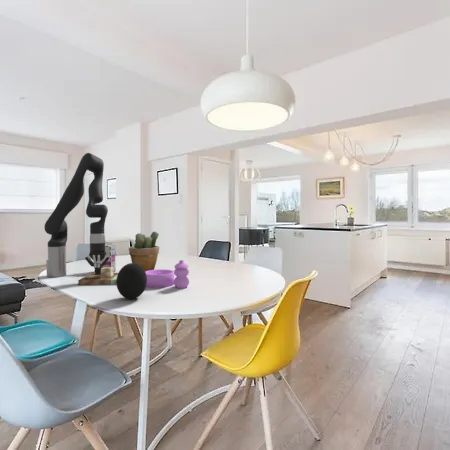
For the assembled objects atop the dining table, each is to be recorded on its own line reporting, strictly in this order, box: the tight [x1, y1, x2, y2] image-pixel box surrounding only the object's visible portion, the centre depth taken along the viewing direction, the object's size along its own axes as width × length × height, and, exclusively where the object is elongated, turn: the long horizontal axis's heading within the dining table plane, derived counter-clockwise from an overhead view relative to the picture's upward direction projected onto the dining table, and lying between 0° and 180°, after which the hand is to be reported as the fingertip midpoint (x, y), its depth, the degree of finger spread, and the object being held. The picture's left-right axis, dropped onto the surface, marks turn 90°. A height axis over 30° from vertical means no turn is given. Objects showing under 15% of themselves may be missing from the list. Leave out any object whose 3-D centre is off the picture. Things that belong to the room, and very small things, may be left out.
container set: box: [145, 259, 190, 289], centre depth 152 cm, size 25×15×13 cm, turn 65°
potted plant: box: [128, 231, 160, 271], centre depth 187 cm, size 18×19×25 cm
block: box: [101, 267, 115, 277], centre depth 162 cm, size 5×5×4 cm
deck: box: [77, 272, 119, 286], centre depth 162 cm, size 24×18×5 cm
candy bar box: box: [101, 244, 116, 273], centre depth 188 cm, size 11×5×16 cm, turn 73°
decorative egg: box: [115, 262, 147, 300], centre depth 128 cm, size 12×12×15 cm
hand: (97, 274), depth 162 cm, fingers closed
